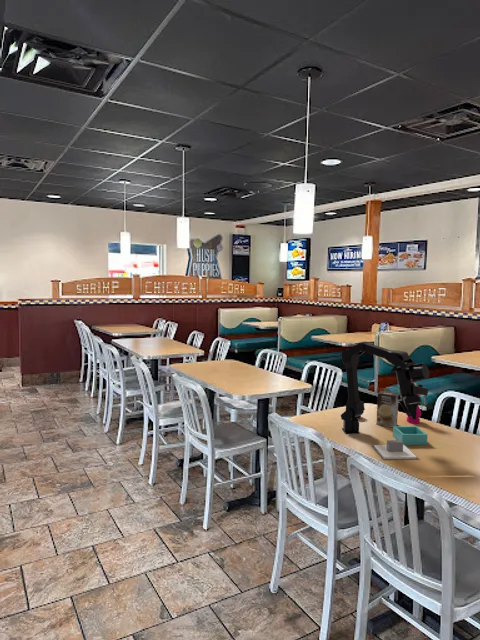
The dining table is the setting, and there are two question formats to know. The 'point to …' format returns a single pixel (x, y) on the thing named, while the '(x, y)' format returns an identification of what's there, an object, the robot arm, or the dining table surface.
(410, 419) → the pepper mill
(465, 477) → the dining table surface
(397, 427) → the dish
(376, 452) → the mat
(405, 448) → the lid
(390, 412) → the coffee box
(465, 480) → the dining table surface
